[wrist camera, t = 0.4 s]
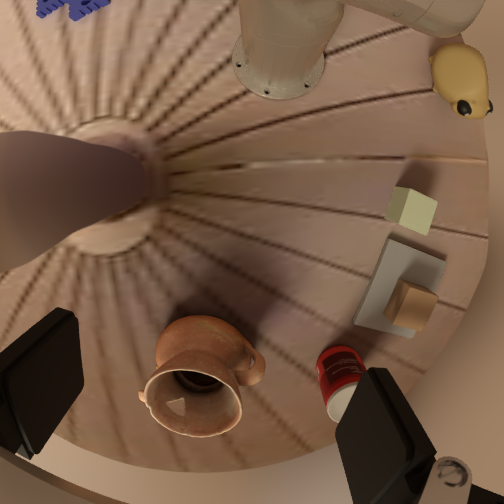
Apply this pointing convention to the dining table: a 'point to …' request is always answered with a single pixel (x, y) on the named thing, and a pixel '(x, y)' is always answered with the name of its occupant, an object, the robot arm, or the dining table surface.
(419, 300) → the walnut brick
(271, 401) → the dining table surface
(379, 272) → the plate
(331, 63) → the dining table surface
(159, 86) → the dining table surface
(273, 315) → the dining table surface
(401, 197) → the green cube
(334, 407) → the canned food
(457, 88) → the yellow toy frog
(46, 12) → the building block
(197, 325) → the ceramic jug
